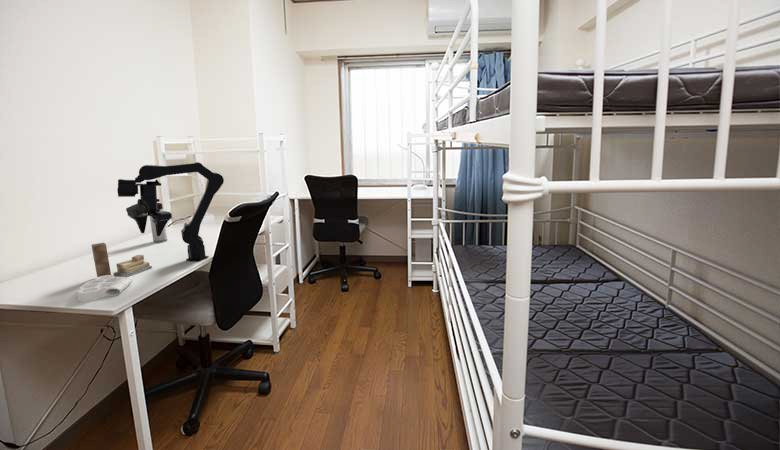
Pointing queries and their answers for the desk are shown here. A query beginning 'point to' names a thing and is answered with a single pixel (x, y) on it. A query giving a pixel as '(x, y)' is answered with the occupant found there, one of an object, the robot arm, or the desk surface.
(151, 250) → the desk surface
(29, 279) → the desk surface
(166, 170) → the robot arm
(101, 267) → the walnut block
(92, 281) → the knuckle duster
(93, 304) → the desk surface
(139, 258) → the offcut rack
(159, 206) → the travel mug
